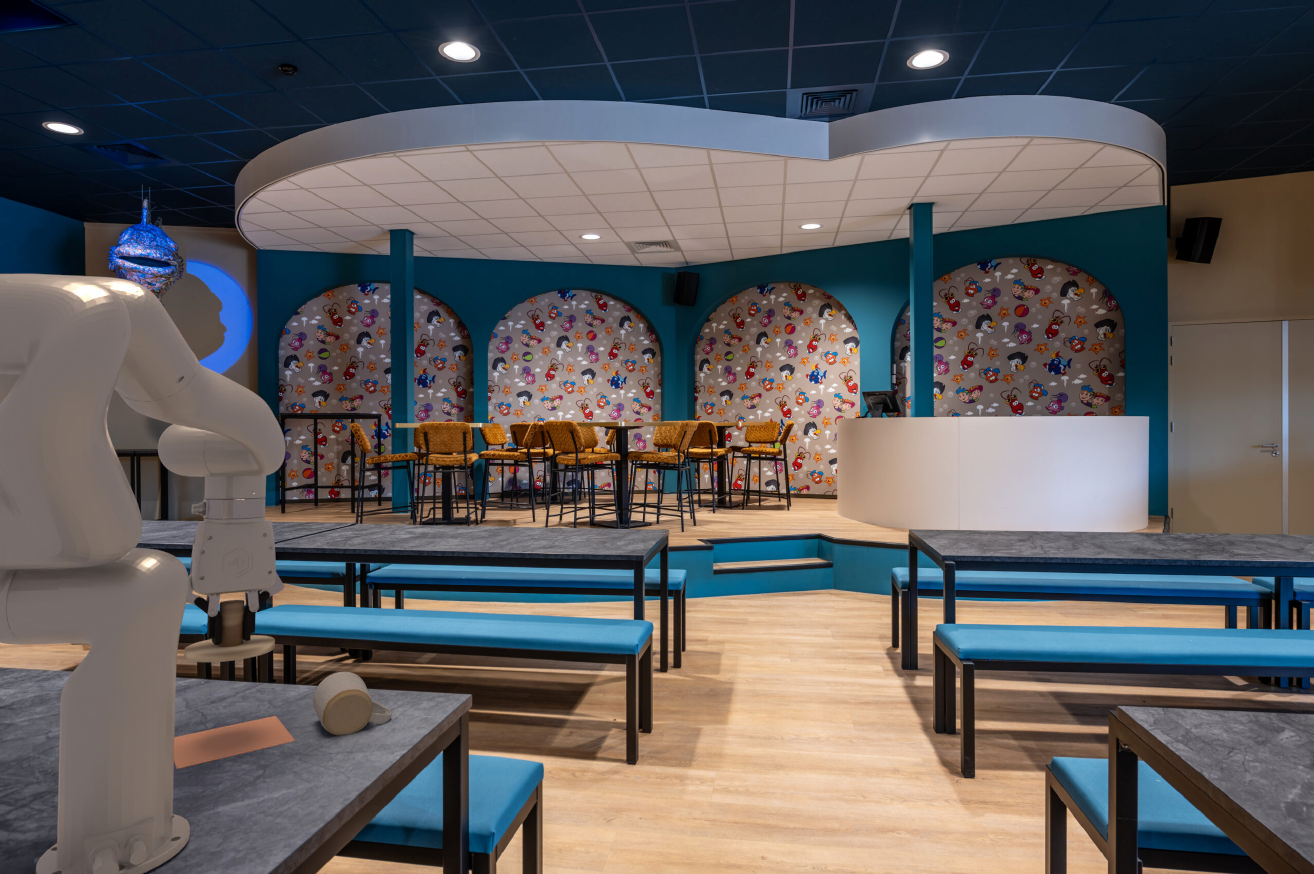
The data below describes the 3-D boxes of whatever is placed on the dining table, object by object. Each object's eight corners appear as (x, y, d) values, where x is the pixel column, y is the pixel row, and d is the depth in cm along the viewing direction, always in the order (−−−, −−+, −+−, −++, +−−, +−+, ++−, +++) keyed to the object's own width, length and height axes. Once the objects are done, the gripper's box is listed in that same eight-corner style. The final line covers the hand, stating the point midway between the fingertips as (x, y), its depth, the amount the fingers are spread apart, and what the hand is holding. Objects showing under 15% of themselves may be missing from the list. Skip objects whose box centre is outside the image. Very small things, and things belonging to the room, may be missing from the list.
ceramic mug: (321, 744, 100) (323, 690, 101) (311, 725, 107) (313, 674, 107) (397, 729, 106) (399, 678, 107) (384, 712, 113) (385, 664, 113)
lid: (282, 652, 99) (284, 602, 100) (189, 666, 92) (191, 612, 92) (265, 638, 108) (266, 592, 108) (179, 649, 101) (180, 600, 101)
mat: (295, 744, 100) (295, 740, 100) (176, 773, 91) (176, 768, 91) (275, 719, 109) (275, 715, 109) (166, 743, 100) (166, 738, 100)
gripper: (169, 514, 93) (164, 656, 92) (304, 510, 103) (300, 637, 102) (162, 511, 98) (158, 645, 98) (291, 508, 109) (288, 628, 108)
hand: (231, 639), depth 100 cm, fingers closed on lid, 3 cm apart
